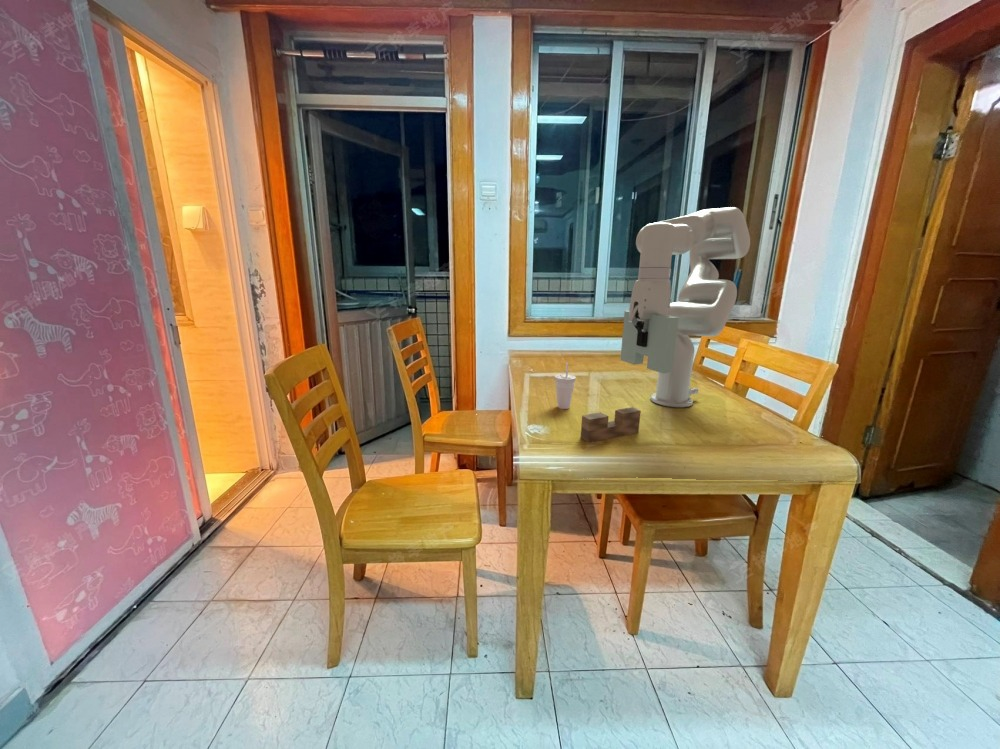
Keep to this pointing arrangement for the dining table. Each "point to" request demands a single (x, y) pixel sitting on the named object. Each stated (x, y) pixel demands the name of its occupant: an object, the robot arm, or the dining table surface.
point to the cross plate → (651, 343)
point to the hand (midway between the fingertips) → (646, 344)
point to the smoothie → (564, 389)
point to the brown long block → (610, 424)
